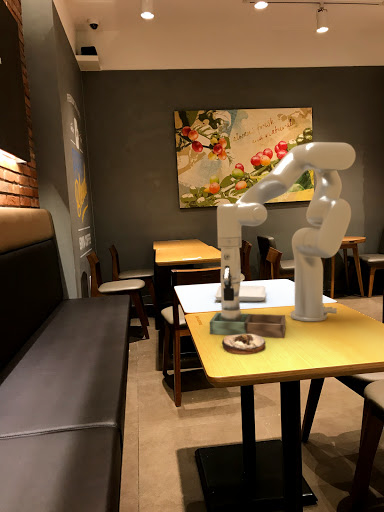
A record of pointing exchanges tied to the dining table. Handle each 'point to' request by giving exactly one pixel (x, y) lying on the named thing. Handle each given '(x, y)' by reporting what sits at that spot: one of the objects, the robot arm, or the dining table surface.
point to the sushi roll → (243, 343)
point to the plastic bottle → (231, 303)
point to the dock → (250, 325)
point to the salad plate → (247, 293)
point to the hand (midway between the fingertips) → (230, 297)
